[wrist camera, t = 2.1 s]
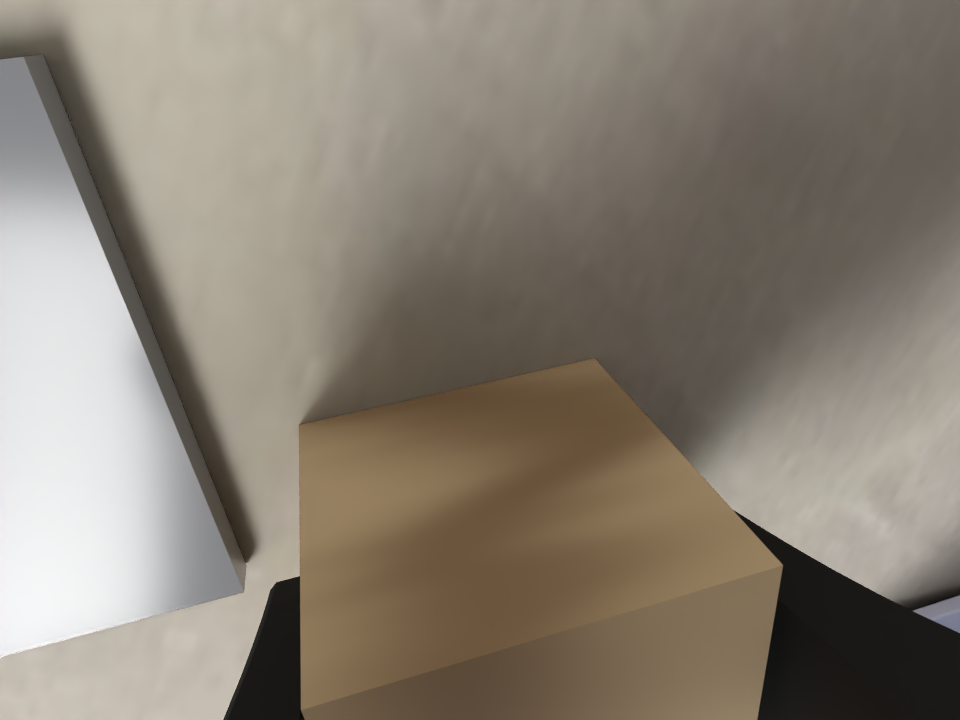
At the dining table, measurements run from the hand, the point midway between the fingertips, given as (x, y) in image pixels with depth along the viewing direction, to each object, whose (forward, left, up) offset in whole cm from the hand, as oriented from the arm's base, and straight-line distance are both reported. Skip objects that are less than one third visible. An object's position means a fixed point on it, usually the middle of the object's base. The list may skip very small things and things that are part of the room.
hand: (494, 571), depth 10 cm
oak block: (0, 0, -2) cm, 2 cm away
